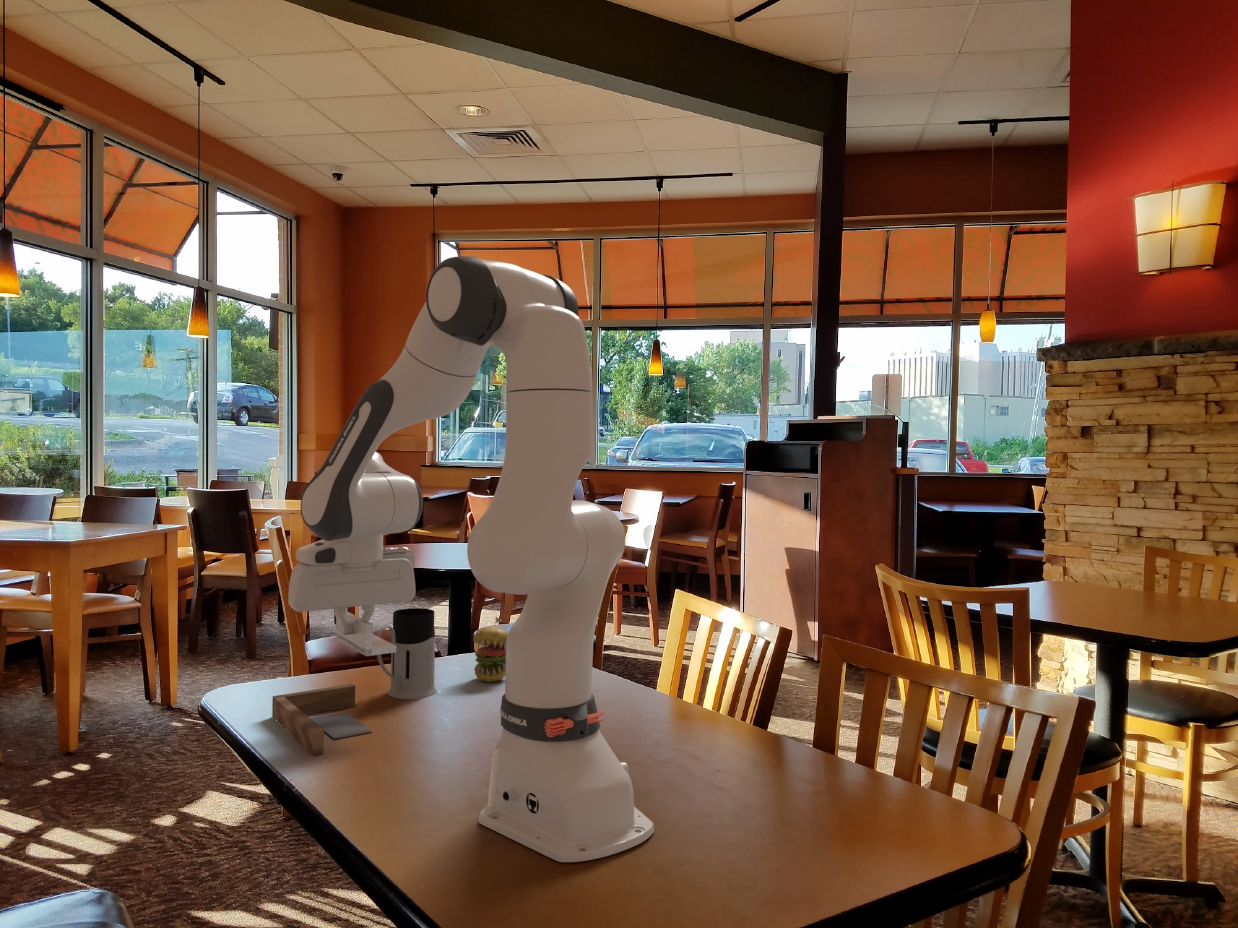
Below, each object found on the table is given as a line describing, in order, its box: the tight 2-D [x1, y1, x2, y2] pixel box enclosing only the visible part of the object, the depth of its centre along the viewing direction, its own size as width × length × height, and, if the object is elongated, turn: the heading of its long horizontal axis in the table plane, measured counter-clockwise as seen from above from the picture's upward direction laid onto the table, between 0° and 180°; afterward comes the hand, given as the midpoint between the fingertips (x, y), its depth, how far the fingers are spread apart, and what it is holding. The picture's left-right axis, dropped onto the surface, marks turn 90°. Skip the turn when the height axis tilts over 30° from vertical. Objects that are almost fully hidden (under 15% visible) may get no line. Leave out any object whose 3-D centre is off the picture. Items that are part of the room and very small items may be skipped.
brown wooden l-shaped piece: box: [271, 683, 373, 757], centre depth 135 cm, size 22×14×4 cm, turn 38°
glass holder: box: [376, 607, 437, 700], centre depth 153 cm, size 9×14×15 cm, turn 155°
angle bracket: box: [335, 610, 396, 657], centre depth 138 cm, size 14×5×5 cm, turn 38°
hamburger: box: [472, 616, 509, 683], centre depth 165 cm, size 8×7×12 cm
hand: (353, 633), depth 137 cm, fingers closed on angle bracket
